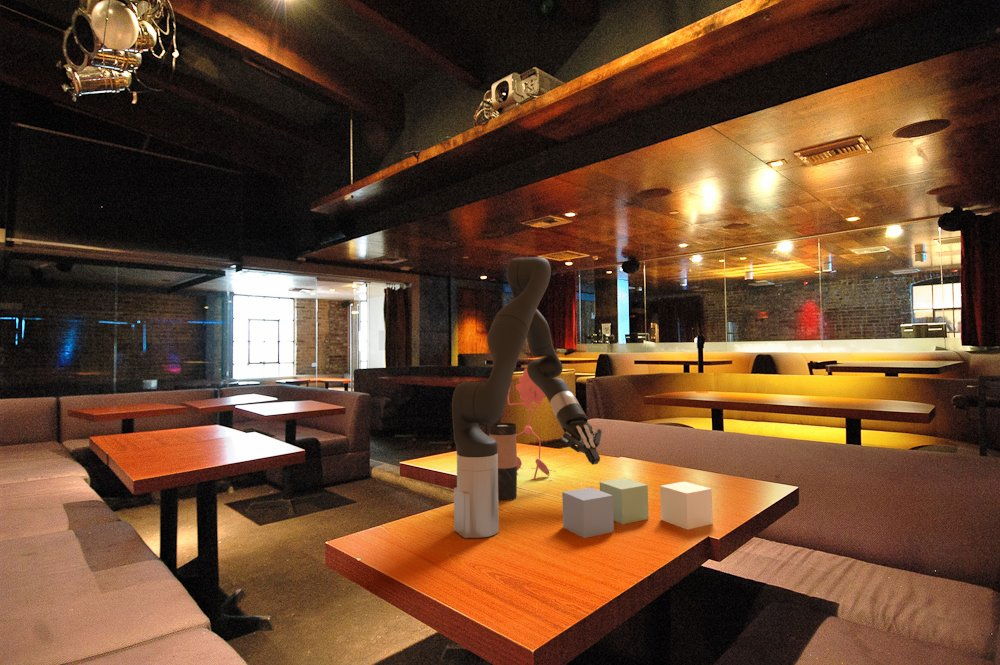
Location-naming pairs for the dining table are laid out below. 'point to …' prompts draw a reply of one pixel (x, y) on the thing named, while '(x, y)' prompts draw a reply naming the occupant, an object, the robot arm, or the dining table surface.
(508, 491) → the travel mug
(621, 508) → the sage block
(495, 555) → the dining table surface
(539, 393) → the pink flower figurine
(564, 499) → the slate block
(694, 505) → the ivory block
